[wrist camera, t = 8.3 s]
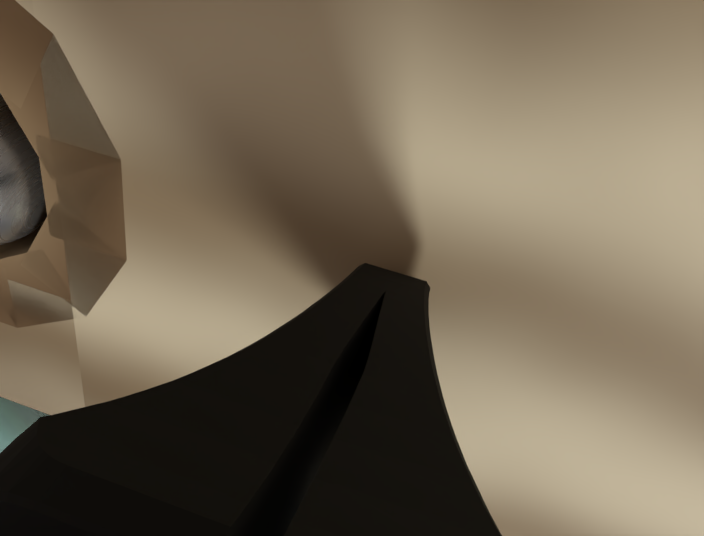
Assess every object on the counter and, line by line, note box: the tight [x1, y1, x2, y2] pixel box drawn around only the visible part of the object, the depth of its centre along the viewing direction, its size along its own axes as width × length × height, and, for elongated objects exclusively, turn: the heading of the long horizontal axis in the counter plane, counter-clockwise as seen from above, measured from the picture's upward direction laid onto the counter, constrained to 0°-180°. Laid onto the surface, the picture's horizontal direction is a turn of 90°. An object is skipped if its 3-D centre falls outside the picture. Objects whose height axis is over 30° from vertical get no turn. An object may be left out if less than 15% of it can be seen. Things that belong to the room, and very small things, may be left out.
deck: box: [0, 0, 704, 536], centre depth 14 cm, size 16×26×2 cm, turn 80°
